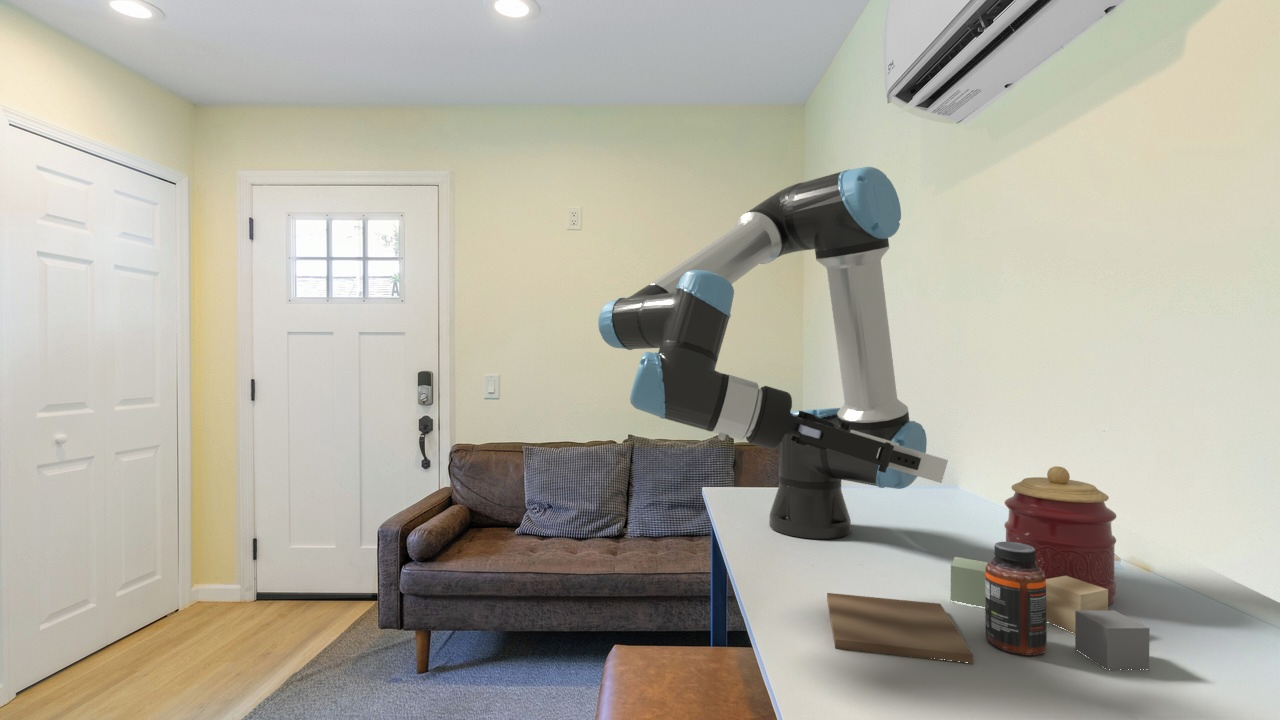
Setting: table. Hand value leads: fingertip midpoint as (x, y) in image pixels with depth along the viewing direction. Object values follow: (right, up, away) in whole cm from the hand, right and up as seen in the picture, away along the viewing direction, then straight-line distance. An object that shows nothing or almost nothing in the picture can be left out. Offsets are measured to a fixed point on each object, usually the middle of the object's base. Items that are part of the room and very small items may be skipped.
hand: (917, 461), depth 75 cm
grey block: (+17, -20, -9) cm, 28 cm away
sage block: (+10, -20, +7) cm, 23 cm away
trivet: (-4, -20, -2) cm, 20 cm away
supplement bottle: (+8, -20, -6) cm, 23 cm away
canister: (+25, -20, +10) cm, 34 cm away
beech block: (+19, -20, -1) cm, 28 cm away
